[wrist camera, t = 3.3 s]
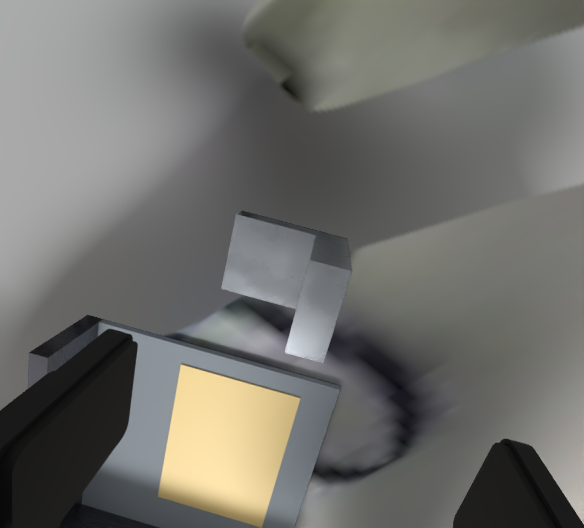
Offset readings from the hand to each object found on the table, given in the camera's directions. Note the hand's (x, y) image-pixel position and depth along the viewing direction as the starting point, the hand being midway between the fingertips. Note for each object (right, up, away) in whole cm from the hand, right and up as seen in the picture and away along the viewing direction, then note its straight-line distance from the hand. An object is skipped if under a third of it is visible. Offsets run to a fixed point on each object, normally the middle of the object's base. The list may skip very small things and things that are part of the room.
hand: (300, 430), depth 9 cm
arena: (-8, -11, +20) cm, 24 cm away
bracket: (-1, +4, +15) cm, 16 cm away
